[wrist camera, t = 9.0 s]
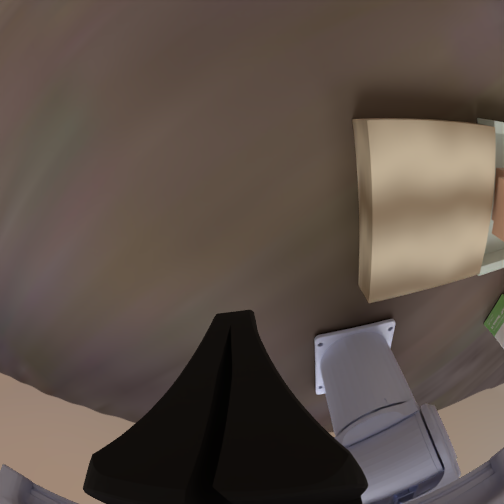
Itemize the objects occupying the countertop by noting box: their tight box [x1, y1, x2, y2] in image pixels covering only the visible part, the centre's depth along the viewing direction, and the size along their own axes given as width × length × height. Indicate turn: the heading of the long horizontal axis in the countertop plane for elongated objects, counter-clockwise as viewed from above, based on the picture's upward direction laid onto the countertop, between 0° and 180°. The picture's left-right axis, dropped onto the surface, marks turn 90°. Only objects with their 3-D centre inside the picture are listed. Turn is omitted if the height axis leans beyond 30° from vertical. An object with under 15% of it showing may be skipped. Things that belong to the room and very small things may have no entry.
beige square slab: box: [352, 118, 496, 303], centre depth 18 cm, size 13×12×2 cm
